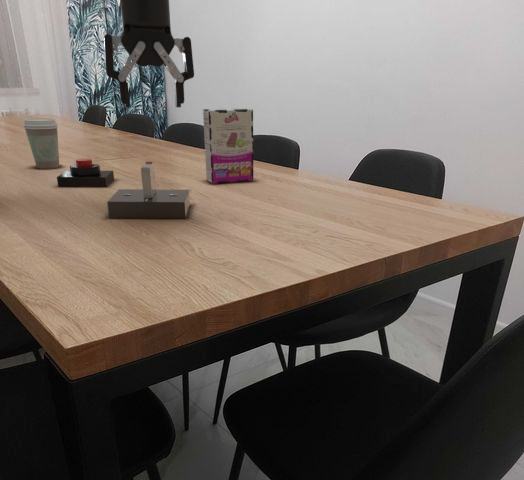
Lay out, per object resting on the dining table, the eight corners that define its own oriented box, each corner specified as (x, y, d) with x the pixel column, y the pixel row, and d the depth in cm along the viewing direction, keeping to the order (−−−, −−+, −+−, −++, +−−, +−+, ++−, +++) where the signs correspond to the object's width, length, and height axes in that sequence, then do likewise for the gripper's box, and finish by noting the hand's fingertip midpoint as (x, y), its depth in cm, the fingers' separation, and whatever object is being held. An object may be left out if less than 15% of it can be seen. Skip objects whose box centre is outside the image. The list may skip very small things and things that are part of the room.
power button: (75, 168, 117) (73, 160, 116) (79, 166, 120) (78, 158, 119) (90, 168, 117) (89, 160, 116) (94, 166, 120) (93, 158, 119)
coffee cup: (31, 170, 133) (21, 121, 128) (31, 165, 140) (22, 118, 134) (65, 169, 136) (57, 120, 130) (64, 164, 143) (56, 118, 137)
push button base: (58, 186, 116) (54, 168, 114) (69, 179, 124) (66, 162, 122) (106, 187, 116) (104, 169, 114) (114, 179, 124) (112, 162, 122)
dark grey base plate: (109, 218, 92) (106, 200, 91) (120, 204, 102) (118, 188, 100) (185, 218, 93) (184, 201, 92) (189, 204, 103) (189, 188, 101)
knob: (152, 198, 93) (149, 166, 91) (143, 198, 93) (140, 166, 91) (156, 191, 99) (153, 160, 96) (148, 191, 99) (145, 160, 96)
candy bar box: (246, 178, 129) (246, 107, 121) (253, 181, 125) (254, 108, 117) (205, 180, 125) (202, 107, 117) (211, 184, 121) (209, 109, 113)
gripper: (185, -3, 83) (190, 106, 91) (96, -8, 79) (109, 105, 87) (193, -9, 77) (198, 108, 85) (96, -15, 73) (110, 108, 81)
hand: (153, 107), depth 86 cm, fingers open, 8 cm apart
